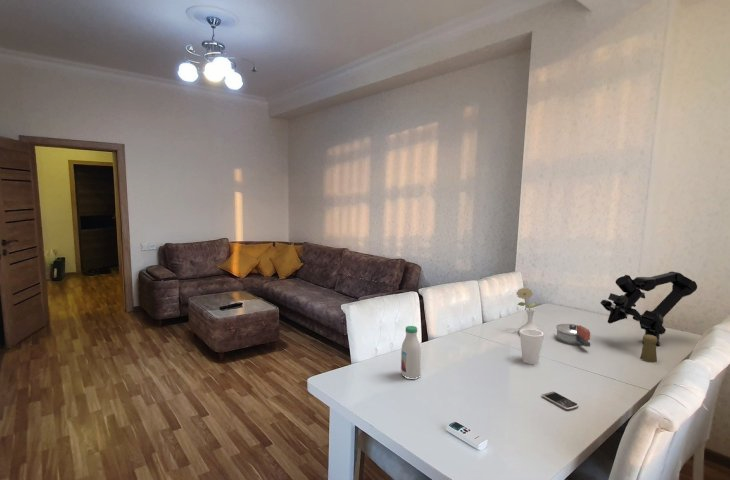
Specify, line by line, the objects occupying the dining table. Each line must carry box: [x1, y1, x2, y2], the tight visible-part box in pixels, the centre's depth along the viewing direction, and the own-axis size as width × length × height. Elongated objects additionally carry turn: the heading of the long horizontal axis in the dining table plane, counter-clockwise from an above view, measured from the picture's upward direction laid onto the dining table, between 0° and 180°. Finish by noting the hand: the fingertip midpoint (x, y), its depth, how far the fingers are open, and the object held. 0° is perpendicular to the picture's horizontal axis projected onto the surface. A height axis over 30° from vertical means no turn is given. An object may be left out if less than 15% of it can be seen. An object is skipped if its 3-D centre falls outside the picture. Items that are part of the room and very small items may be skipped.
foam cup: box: [519, 329, 545, 365], centre depth 166 cm, size 10×9×13 cm
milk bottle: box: [400, 325, 422, 378], centre depth 152 cm, size 8×8×20 cm
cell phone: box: [540, 391, 579, 412], centre depth 133 cm, size 6×11×1 cm, turn 25°
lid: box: [555, 323, 591, 341], centre depth 187 cm, size 23×15×5 cm, turn 174°
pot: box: [556, 329, 591, 348], centre depth 189 cm, size 24×14×5 cm, turn 176°
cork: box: [640, 334, 658, 363], centre depth 168 cm, size 6×6×11 cm
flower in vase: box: [515, 287, 541, 334], centre depth 199 cm, size 13×11×25 cm
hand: (608, 322), depth 182 cm, fingers closed
